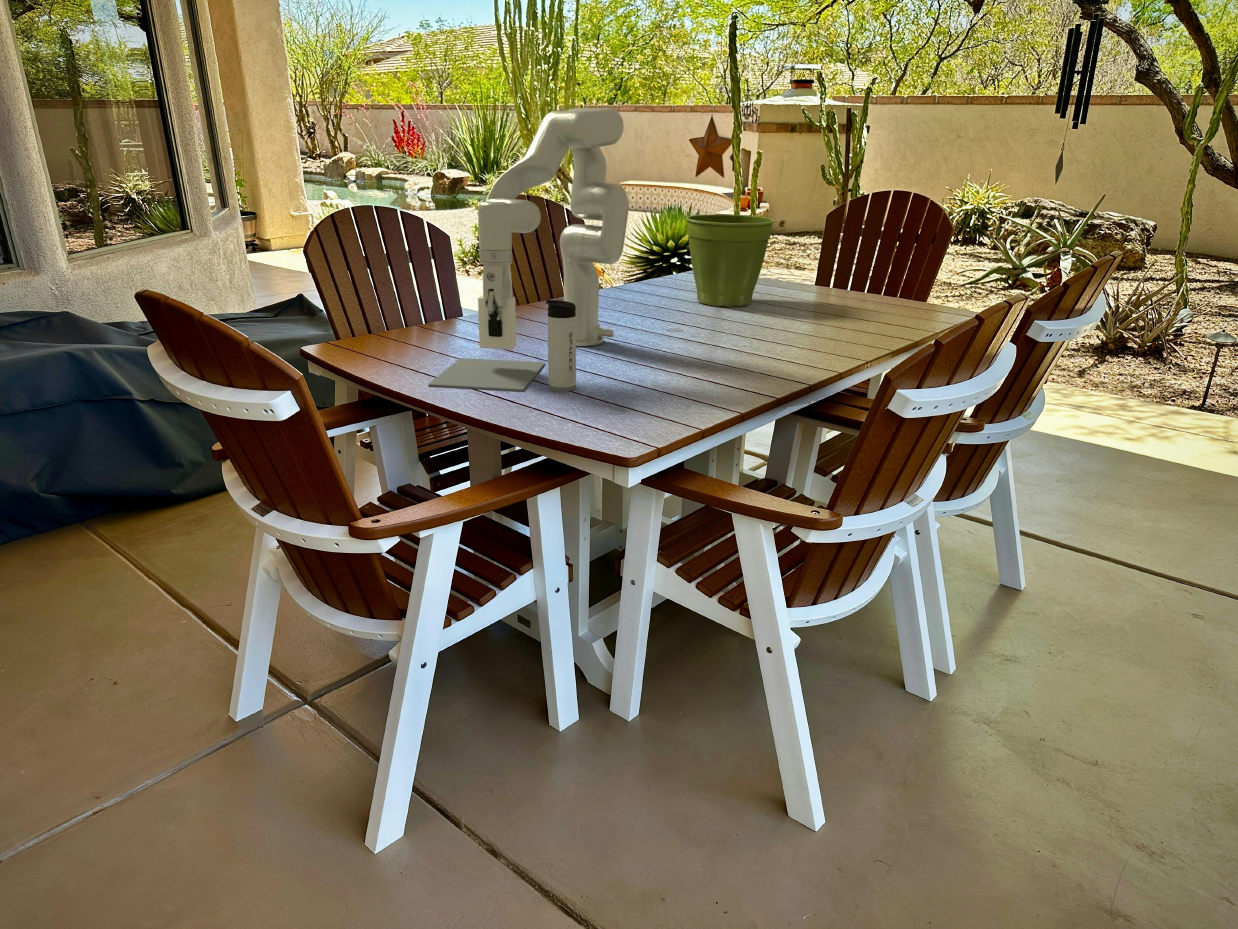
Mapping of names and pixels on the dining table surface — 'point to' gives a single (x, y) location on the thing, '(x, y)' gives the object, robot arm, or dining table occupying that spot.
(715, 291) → the plant pot
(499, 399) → the dining table surface
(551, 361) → the travel mug
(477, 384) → the mat
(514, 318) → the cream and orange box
